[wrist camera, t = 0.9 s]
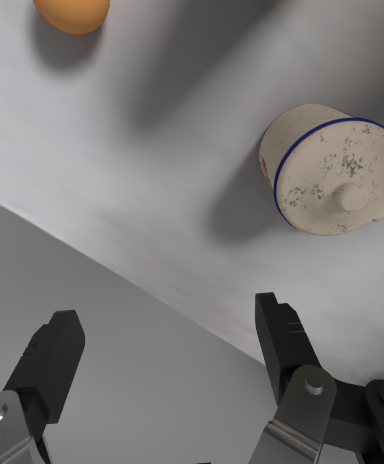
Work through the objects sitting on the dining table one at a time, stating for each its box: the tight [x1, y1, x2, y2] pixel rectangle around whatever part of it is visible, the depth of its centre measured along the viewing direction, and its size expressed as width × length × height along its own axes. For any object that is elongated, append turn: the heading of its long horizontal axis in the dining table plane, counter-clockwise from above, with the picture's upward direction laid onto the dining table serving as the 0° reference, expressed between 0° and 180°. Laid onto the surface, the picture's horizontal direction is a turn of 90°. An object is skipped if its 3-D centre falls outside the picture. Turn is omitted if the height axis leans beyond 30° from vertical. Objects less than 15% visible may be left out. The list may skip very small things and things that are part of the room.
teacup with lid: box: [259, 104, 384, 236], centre depth 25 cm, size 12×9×12 cm
